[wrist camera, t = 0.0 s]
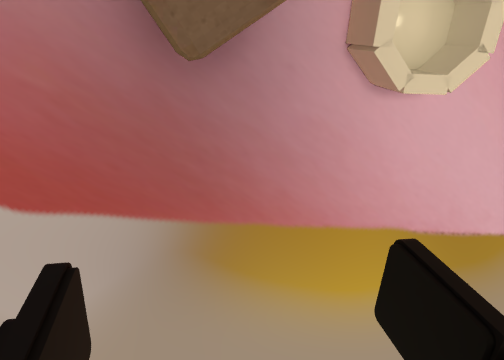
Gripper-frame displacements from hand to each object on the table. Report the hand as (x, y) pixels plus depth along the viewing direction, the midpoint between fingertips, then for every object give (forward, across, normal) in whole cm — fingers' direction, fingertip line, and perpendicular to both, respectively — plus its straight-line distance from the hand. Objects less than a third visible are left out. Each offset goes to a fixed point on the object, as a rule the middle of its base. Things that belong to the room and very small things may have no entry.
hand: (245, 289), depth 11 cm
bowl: (+31, -24, -9) cm, 40 cm away
